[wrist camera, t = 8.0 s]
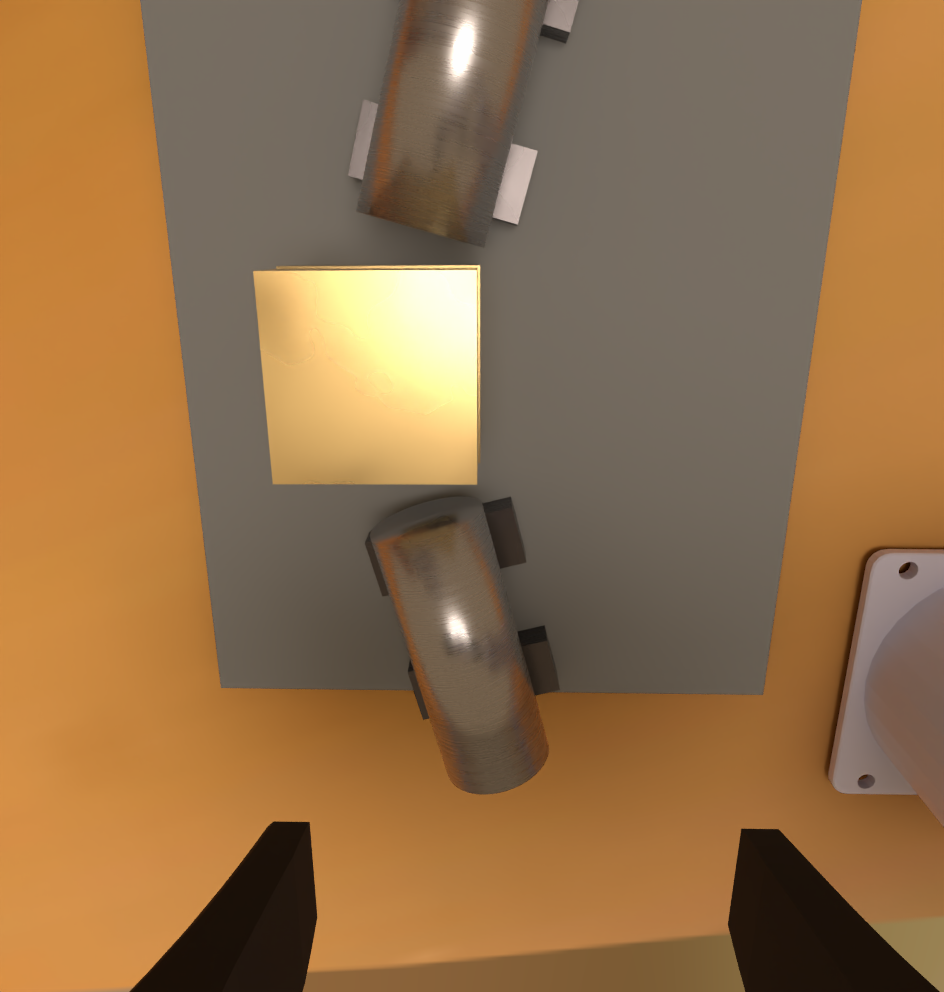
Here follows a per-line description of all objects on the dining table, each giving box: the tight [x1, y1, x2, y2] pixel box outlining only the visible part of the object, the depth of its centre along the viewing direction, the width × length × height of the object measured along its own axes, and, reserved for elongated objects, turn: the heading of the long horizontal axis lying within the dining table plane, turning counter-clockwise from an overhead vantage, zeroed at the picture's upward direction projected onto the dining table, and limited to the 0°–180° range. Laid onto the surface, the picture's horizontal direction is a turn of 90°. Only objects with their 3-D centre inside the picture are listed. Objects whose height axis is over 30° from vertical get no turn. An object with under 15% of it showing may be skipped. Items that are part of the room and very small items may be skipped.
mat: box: [140, 0, 862, 695], centre depth 19 cm, size 16×21×1 cm
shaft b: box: [365, 496, 560, 794], centre depth 20 cm, size 7×4×4 cm, turn 15°
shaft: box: [348, 0, 579, 248], centre depth 16 cm, size 7×4×4 cm, turn 165°
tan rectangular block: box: [253, 265, 481, 485], centre depth 17 cm, size 4×4×5 cm
